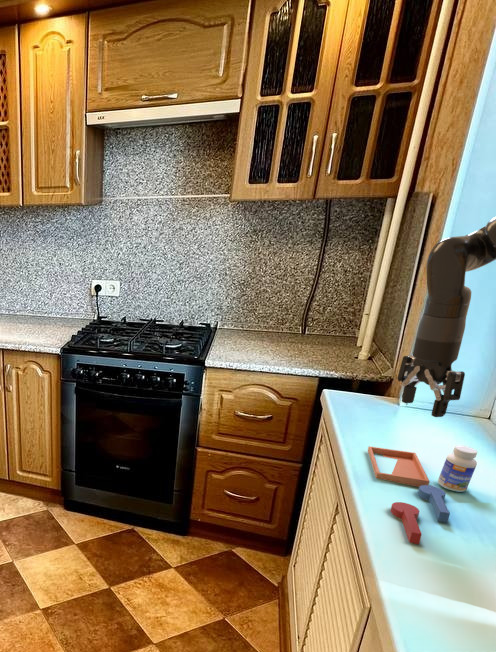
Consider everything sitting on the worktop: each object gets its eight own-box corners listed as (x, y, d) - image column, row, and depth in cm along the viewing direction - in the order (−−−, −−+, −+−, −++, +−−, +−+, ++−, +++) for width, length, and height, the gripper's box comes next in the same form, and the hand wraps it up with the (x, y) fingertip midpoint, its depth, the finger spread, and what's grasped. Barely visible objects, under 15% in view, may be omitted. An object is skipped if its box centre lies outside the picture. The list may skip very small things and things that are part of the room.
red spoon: (388, 507, 115) (390, 497, 114) (415, 512, 113) (417, 502, 112) (399, 540, 104) (401, 530, 103) (429, 546, 102) (432, 536, 101)
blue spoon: (415, 490, 121) (417, 481, 121) (440, 494, 119) (443, 485, 119) (428, 519, 110) (431, 510, 109) (456, 525, 108) (459, 515, 107)
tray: (367, 453, 140) (368, 446, 139) (413, 459, 135) (415, 452, 135) (375, 480, 126) (377, 472, 125) (427, 488, 122) (429, 481, 121)
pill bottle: (444, 490, 121) (458, 453, 117) (432, 478, 125) (446, 442, 122) (471, 494, 119) (486, 456, 116) (459, 481, 124) (473, 445, 121)
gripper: (487, 343, 102) (466, 420, 108) (430, 328, 116) (413, 397, 121) (449, 345, 102) (430, 422, 108) (396, 329, 115) (382, 399, 121)
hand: (421, 409), depth 114 cm, fingers open, 8 cm apart
